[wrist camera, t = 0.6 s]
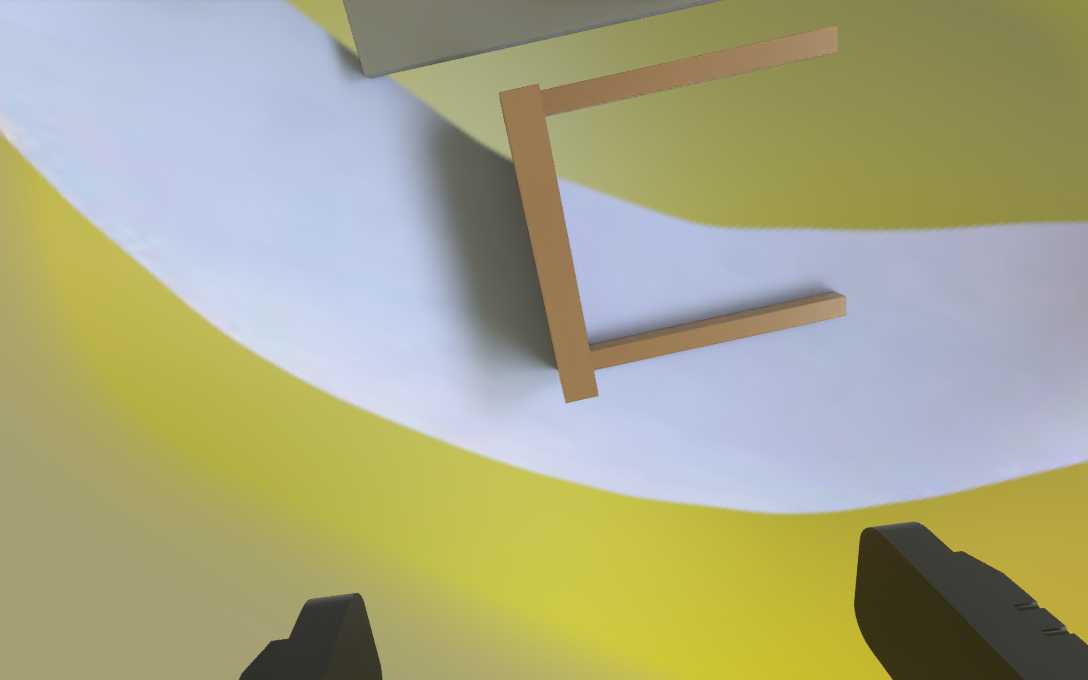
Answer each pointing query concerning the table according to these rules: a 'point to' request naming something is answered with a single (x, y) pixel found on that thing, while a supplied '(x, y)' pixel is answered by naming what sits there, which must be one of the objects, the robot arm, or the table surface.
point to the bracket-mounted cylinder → (477, 26)
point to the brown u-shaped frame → (549, 228)
